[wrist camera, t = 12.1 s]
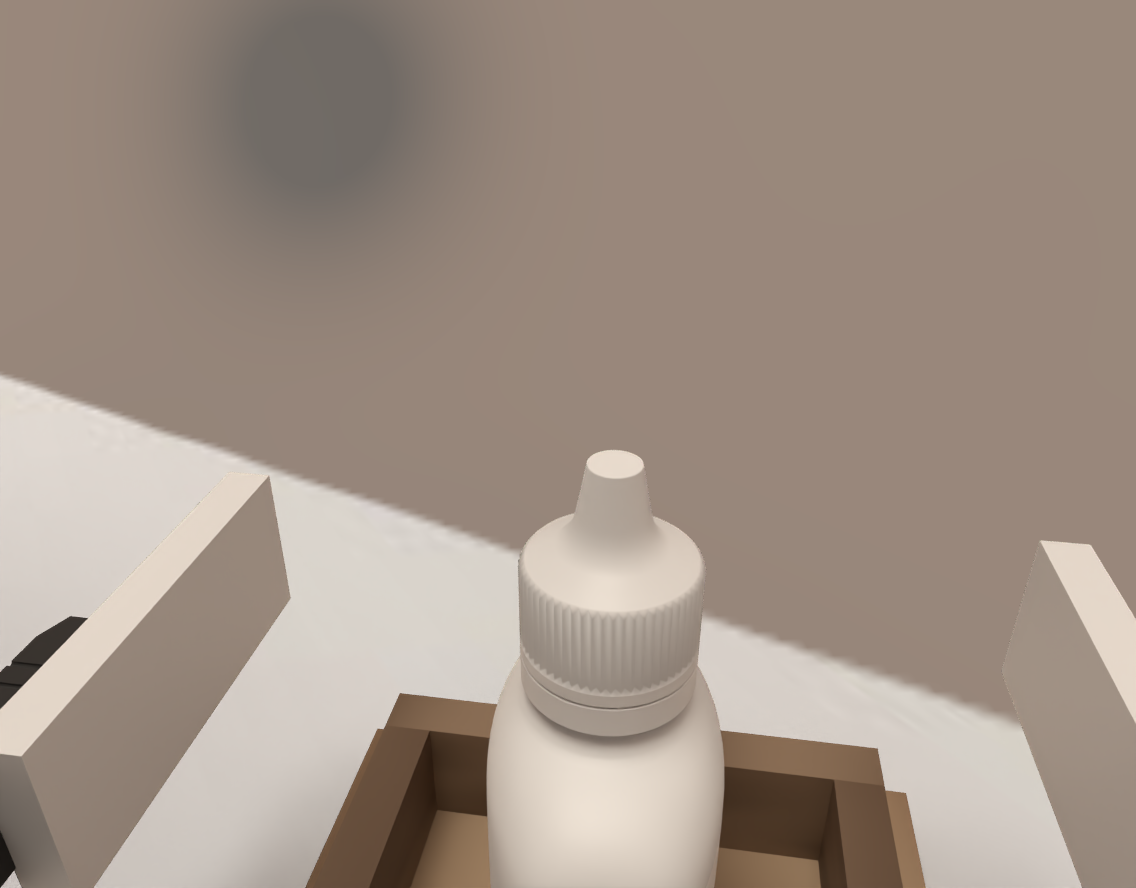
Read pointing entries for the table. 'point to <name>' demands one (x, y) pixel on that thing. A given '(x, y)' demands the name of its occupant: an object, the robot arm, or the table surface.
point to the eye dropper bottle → (607, 703)
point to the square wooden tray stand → (749, 819)
